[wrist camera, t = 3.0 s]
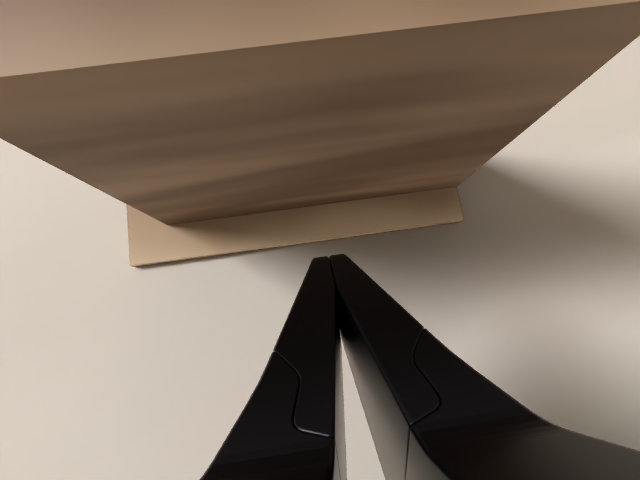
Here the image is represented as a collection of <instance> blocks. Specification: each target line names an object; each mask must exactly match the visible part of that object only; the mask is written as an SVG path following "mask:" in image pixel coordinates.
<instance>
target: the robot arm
mask: <svg viewBox="0 0 640 480" xmlns="http://www.w3.org/2000/svg"><path fill="white" fill-rule="evenodd" d="M340 333H341V336H340ZM341 338H342V342H343V345H344V349H345V352H346V355H347V358H348V361H349V364H350V368H351V371H352V374H353V377H354V380H355V384H356V387H357V390H358V393H359V396H360V400H361V403H362V406H363V409H364V412H365V415H366V419H367V422H368V425H369V428H370V431H371V435H372V438H373V441H374V444H375V447H376V451H377V454H378V457H379V460H380V463H381V466H382V470H383V473H384V476H385V479H386V480H640V451H637V450H633V449H630V448H627V447H623V446H620V445H617V444H613V443H610V442H606V441H603V440H600V439H596V438H593V437H590V436H586V435H583V434H580V433H576V432H573V431H570V430H567V429H564V428H561V427H559V426H557V425H554V424H553V423H551V422H549V421H547V420H545V419H543V418H541V417H540V416H538V415H536V414H535V413H533V412H532V411H530V410H529V409H527V408H526V407H525V406H523V405H522V404H520V403H519V402H518V401H516V400H515V399H514V398H512V397H511V396H510V395H508V394H507V393H506V392H504V391H503V390H502V389H500V388H499V387H497V386H496V385H495V384H493V383H492V382H491V381H489V380H488V379H487V378H485V377H484V376H483V375H481V374H480V373H479V372H477V371H476V370H475V369H473V368H472V367H471V366H469V365H468V364H467V363H465V362H464V361H463V360H462V359H460V358H459V357H458V356H456V355H455V354H454V353H453V352H451V351H450V350H449V349H448V348H447V347H446V346H445V345H443V344H442V343H441V342H440V341H439V340H438V339H437V338H435V337H434V336H433V335H432V334H431V333H430V332H429V331H428V330H427V329H424V327H423V326H422V325H421V324H420V323H419V322H418V321H417V320H416V319H415V318H414V317H413V316H411V315H410V314H409V313H408V312H407V311H406V310H405V309H404V308H403V307H402V306H401V305H399V304H398V303H397V302H396V301H395V300H394V299H393V298H392V297H391V296H390V295H389V294H388V293H386V292H385V291H384V290H383V289H382V288H381V287H380V286H379V285H378V284H377V283H376V282H375V281H373V280H372V279H371V278H370V277H369V276H368V275H367V274H366V273H365V272H364V271H363V270H361V269H360V268H359V267H358V266H357V265H356V264H355V263H354V262H353V261H352V260H351V259H350V258H348V257H347V256H346V255H345V254H339V255H332V256H330V257H329V258H328V257H327V256H325V257H318V258H314V259H313V260H312V262H311V264H310V266H309V269H308V271H307V273H306V276H305V278H304V280H303V283H302V285H301V287H300V289H299V292H298V294H297V296H296V299H295V301H294V303H293V306H292V308H291V310H290V313H289V315H288V317H287V320H286V322H285V324H284V327H283V329H282V331H281V333H280V336H279V338H278V340H277V343H276V345H275V347H274V350H273V351H274V352H272V354H271V356H270V359H269V361H268V363H267V366H266V368H265V370H264V372H263V374H262V376H261V378H260V380H259V382H258V384H257V386H256V388H255V390H254V392H253V393H252V395H251V397H250V399H249V401H248V402H247V404H246V406H245V408H244V409H243V411H242V413H241V414H240V416H239V418H238V419H237V421H236V423H235V424H234V426H233V428H232V429H231V431H230V433H229V435H228V436H227V438H226V440H225V441H224V443H223V445H222V446H221V448H220V450H219V451H218V453H217V455H216V456H215V458H214V460H213V461H212V463H211V464H210V466H209V468H208V469H207V470H206V472H205V473H204V475H203V476H202V477H201V478H200V480H347V468H346V445H345V421H344V398H343V374H342V351H341Z"/></svg>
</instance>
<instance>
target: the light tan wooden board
mask: <svg viewBox="0 0 640 480" xmlns="http://www.w3.org/2000/svg"><path fill="white" fill-rule="evenodd" d="M127 221H128V239H129V258H130V266H133V267H135V266H143V265H150V264H157V263H164V262H172V261H179V260H186V259H193V258H201V257H208V256H215V255H222V254H230V253H237V252H244V251H251V250H259V249H266V248H273V247H281V246H288V245H295V244H302V243H310V242H317V241H324V240H331V239H339V238H346V237H353V236H360V235H368V234H375V233H382V232H389V231H397V230H404V229H411V228H419V227H426V226H433V225H440V224H448V223H455V222H461V221H463V215H462V210H461V205H460V201H459V196H458V191H457V187H450V188H443V189H435V190H428V191H420V192H413V193H405V194H398V195H391V196H383V197H376V198H368V199H361V200H353V201H346V202H338V203H331V204H324V205H316V206H309V207H301V208H294V209H286V210H279V211H271V212H264V213H256V214H249V215H242V216H234V217H227V218H219V219H212V220H204V221H197V222H189V223H182V224H175V225H166V224H164V223H162V222H160V221H158V220H156V219H154V218H153V217H151V216H149V215H147V214H145V213H143V212H141V211H139V210H137V209H135V208H133V207H131V206H130V205H128V204H127Z"/></svg>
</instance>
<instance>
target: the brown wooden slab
mask: <svg viewBox="0 0 640 480" xmlns="http://www.w3.org/2000/svg"><path fill="white" fill-rule="evenodd" d="M639 35H640V0H0V138H1V139H3V140H5V141H7V142H9V143H11V144H13V145H15V146H16V147H18V148H20V149H22V150H24V151H26V152H28V153H30V154H32V155H34V156H36V157H38V158H39V159H41V160H43V161H45V162H47V163H49V164H51V165H53V166H55V167H57V168H59V169H61V170H62V171H64V172H66V173H68V174H70V175H72V176H74V177H76V178H78V179H80V180H82V181H84V182H85V183H87V184H89V185H91V186H93V187H95V188H97V189H99V190H101V191H103V192H105V193H107V194H108V195H110V196H112V197H114V198H116V199H118V200H120V201H122V202H124V203H126V204H128V205H130V206H131V207H133V208H135V209H137V210H139V211H141V212H143V213H145V214H147V215H149V216H151V217H153V218H154V219H156V220H158V221H160V222H162V223H164V224H166V225H175V224H182V223H189V222H197V221H204V220H212V219H219V218H227V217H234V216H242V215H249V214H256V213H264V212H271V211H279V210H286V209H294V208H301V207H309V206H316V205H324V204H331V203H338V202H346V201H353V200H361V199H368V198H376V197H383V196H391V195H398V194H405V193H413V192H420V191H428V190H435V189H443V188H450V187H457V186H458V185H459V184H460V183H461V182H463V181H464V180H465V179H466V178H468V177H469V176H470V175H471V174H472V173H474V172H475V171H476V170H477V169H478V168H480V167H481V166H482V165H483V164H484V163H486V162H487V161H488V160H489V159H491V158H492V157H493V156H494V155H495V154H497V153H498V152H499V151H500V150H501V149H503V148H504V147H505V146H506V145H507V144H509V143H510V142H511V141H512V140H513V139H515V138H516V137H517V136H518V135H520V134H521V133H522V132H523V131H524V130H526V129H527V128H528V127H529V126H530V125H532V124H533V123H534V122H535V121H536V120H538V119H539V118H540V117H541V116H542V115H544V114H545V113H546V112H547V111H549V110H550V109H551V108H552V107H553V106H555V105H556V104H557V103H558V102H559V101H561V100H562V99H563V98H564V97H565V96H567V95H568V94H569V93H570V92H572V91H573V90H574V89H575V88H576V87H578V86H579V85H580V84H581V83H582V82H584V81H585V80H586V79H587V78H588V77H590V76H591V75H592V74H593V73H594V72H596V71H597V70H598V69H599V68H601V67H602V66H603V65H604V64H605V63H607V62H608V61H609V60H610V59H611V58H613V57H614V56H615V55H616V54H617V53H619V52H620V51H621V50H622V49H623V48H625V47H626V46H627V45H628V44H630V43H631V42H632V41H633V40H634V39H636V38H637V37H638V36H639Z"/></svg>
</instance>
